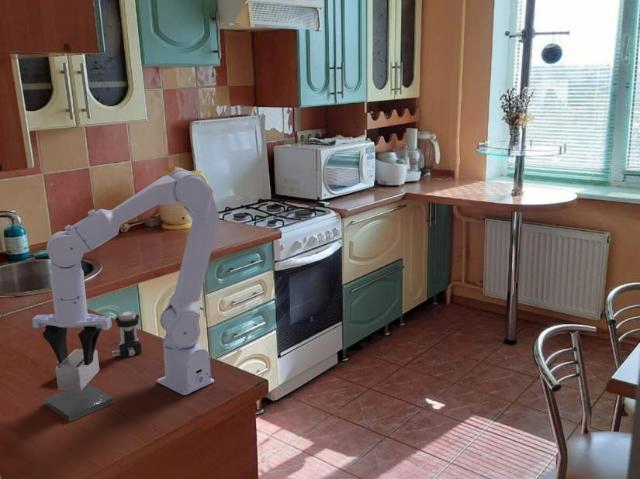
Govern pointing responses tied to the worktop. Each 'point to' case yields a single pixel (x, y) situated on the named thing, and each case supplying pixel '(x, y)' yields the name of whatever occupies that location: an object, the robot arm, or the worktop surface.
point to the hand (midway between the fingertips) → (76, 362)
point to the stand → (78, 402)
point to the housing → (76, 371)
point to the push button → (128, 334)
